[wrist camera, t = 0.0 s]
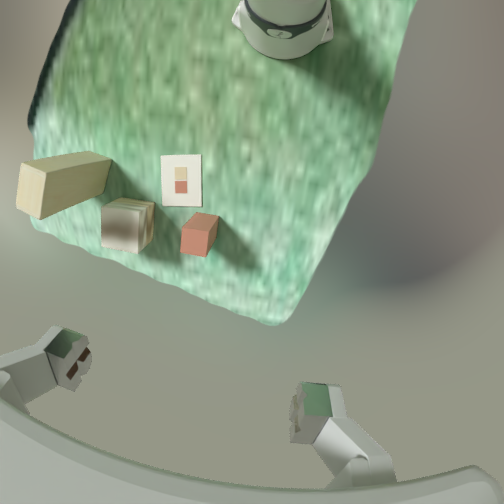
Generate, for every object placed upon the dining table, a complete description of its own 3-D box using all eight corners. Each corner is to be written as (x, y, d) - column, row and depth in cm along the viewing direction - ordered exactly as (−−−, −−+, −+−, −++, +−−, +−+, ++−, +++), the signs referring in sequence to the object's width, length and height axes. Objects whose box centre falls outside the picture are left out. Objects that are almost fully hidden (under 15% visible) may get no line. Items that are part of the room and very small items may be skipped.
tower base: (120, 197, 57) (101, 206, 50) (155, 202, 57) (139, 212, 50) (119, 233, 60) (101, 246, 53) (152, 239, 60) (137, 253, 53)
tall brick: (196, 212, 58) (182, 227, 48) (219, 215, 58) (208, 231, 48) (194, 233, 59) (180, 252, 50) (216, 237, 59) (205, 257, 50)
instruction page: (161, 155, 54) (160, 155, 53) (201, 154, 53) (200, 154, 53) (162, 205, 57) (162, 206, 57) (201, 206, 57) (201, 206, 57)
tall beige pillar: (86, 148, 54) (18, 161, 34) (112, 158, 54) (47, 173, 35) (78, 183, 56) (12, 207, 37) (103, 193, 57) (40, 222, 38)
